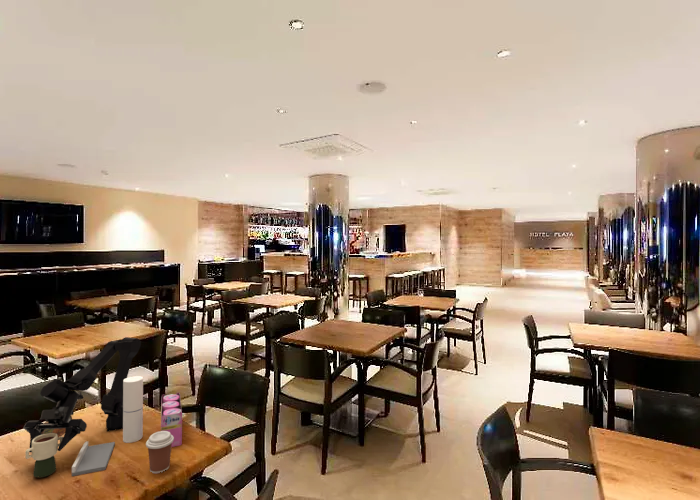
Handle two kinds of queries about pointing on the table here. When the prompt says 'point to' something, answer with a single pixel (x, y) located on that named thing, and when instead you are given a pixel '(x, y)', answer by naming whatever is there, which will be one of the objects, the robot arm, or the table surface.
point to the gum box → (172, 417)
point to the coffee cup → (159, 451)
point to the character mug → (44, 453)
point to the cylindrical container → (132, 409)
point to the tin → (56, 430)
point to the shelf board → (92, 458)
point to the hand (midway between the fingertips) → (44, 451)
